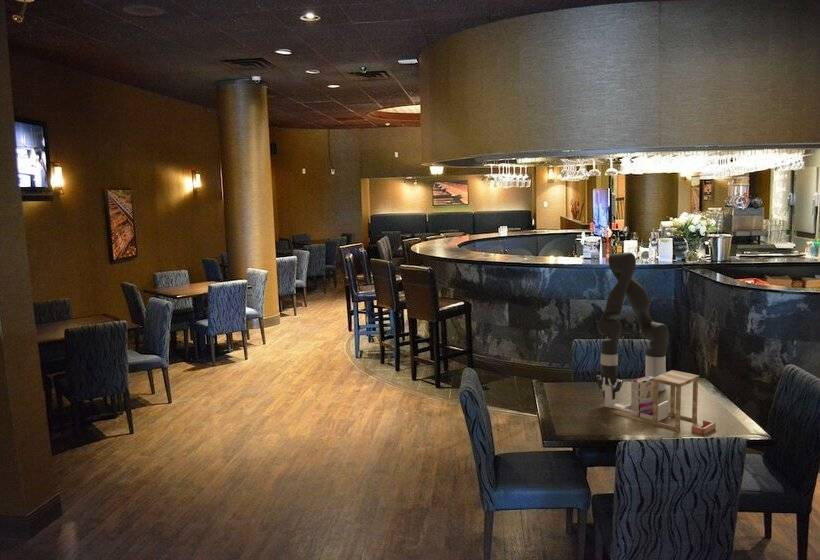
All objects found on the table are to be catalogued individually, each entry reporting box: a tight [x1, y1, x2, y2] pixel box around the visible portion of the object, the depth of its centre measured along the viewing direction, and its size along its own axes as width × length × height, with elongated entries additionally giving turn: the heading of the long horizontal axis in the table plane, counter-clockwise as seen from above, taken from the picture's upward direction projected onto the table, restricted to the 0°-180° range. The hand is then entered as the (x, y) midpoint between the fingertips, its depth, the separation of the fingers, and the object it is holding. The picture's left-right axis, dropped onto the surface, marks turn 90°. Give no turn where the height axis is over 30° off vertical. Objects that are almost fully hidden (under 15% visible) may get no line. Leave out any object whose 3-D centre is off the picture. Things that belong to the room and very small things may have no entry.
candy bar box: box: [630, 376, 654, 417], centre depth 296 cm, size 11×5×16 cm, turn 118°
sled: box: [604, 384, 670, 422], centre depth 300 cm, size 11×27×10 cm, turn 40°
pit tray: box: [691, 419, 717, 437], centre depth 277 cm, size 10×5×3 cm, turn 130°
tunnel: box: [614, 369, 700, 432], centre depth 292 cm, size 16×30×20 cm, turn 40°
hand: (608, 399), depth 310 cm, fingers open, 3 cm apart
